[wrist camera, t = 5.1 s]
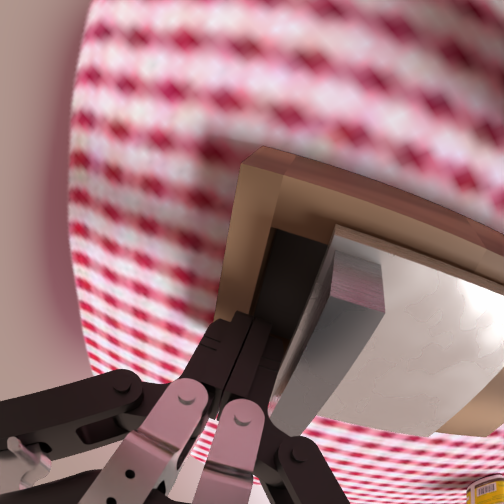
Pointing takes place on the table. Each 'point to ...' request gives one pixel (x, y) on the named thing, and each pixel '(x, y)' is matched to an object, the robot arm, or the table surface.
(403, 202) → the socket board
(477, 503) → the supplement bottle
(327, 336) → the shutter lid
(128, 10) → the table surface
